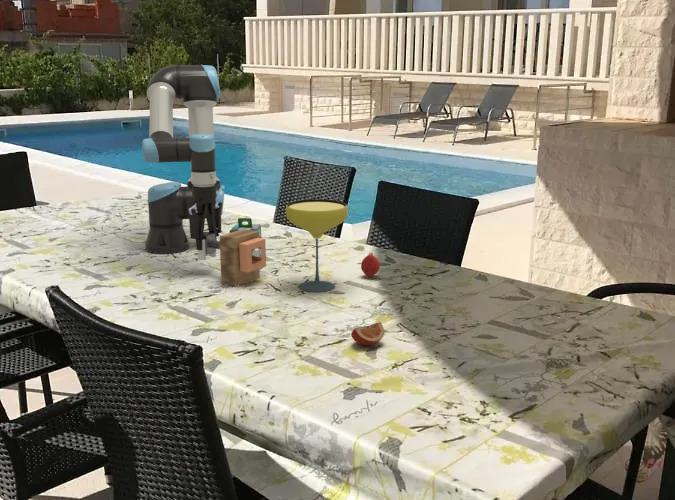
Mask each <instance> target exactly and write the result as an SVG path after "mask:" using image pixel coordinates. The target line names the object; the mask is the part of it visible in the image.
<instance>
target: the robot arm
mask: <svg viewBox="0 0 675 500" xmlns="http://www.w3.org/2000/svg"><path fill="white" fill-rule="evenodd" d="M220 88H221V87H220V82H219V77H218V71H217V70H216V68H215V67H214V66H213V65H208V64H207V65H206V64H205V65H203V64H188V65H187V64H182V65H181V64H180V65H176V64H171V65H167V66H164V67H162V68H160V69H159V70H157V72H155V73H154V74H153V75H152V77H151V79H150V80H149V81H148V84H147V87H146V97H147V99H148V101H149V125H148V126H149V131H148V132H149V133H148V134H149V137H148V138H144V139H143V140H142V141H141V144H142V145H141V146H142V147H141V148H142V149H141V150H142V159H143V161H144V162H146V163H155V164H158V163H186V162H187V163H189V162H190V178H189V179H187V181H186V185H187V186H182V184H181V182H178V181H173V182H172V181H171V182H165V183H163V182H162V183H159V184H156V185H153V186H150V187H149V188H148V189H147V200H146V201H147V206H148V208H147V209H148V225H149V226H148V227H149V228H148V229H149V230H148V234H147V236H146V241H145V251H146V250H148V251H151V252H156V253H155V254H160V253H166V254H175V253H174V252H177V253H180V252H179V251H181V252H184V251H183V250H185V251H187V250H188V249H189V248H190V244H189V243H190V242H189V238H188V236H187V234H186V231H185V228H184V223H183V222H184V220H188V221H189V222H188V223H189V235H190V236H189V237H190V239H193V240H195V248H196V250H197V259H198V260H200V261H206V260H207V257H211V258H216V257H217V251H216V252H214V253H210V254H206V252H205V240H203V233H204V232H205V221H206V223H207V229H208V232H211V233H215V239H216V241H218V240H217V238H218V237H220V234H222V215H223V210H224V200H225V187H226V186H225V185H223V184H221V180H220V179H219V178H218V176H217V173H216V171H217V169H216V142H215V141H216V140H215V135H214V132H215V131H214V110H213V109H214V107H216V105H217V104H218V103H217V100H219V99H221V90H220ZM175 100H183V102H182V103H183V105H184V106H185V107H186V108H187V110H188V134H189V135H188V136H189V137H174V111H173V110H174V109H173V108H174V107H173V105H174V104H173V103H174V101H175ZM186 249H187V250H186ZM148 251H147V252H148ZM151 252H150V253H151ZM206 255H208V256H206Z"/></svg>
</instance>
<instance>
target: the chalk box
mask: <svg viewBox="0 0 675 500" xmlns="http://www.w3.org/2000/svg"><path fill="white" fill-rule="evenodd" d="M243 222H247V223H246V224H245V223H243ZM242 229H247V230H253V231H259V238H262V225H261V224H259V223H258V224H256V223H254V224H253V220H252V218H251V217H250V218H249V217H239V218H237V224H235V225H233V226H232V228H231V229H230V230H229V233H231V232H235V231H239V230H242ZM262 239H263V238H262Z"/></svg>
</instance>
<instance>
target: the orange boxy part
mask: <svg viewBox="0 0 675 500" xmlns="http://www.w3.org/2000/svg"><path fill="white" fill-rule="evenodd" d="M266 246H267V245H266V238H255V239H252V240H249V241H246V242H243V243H239V251H240V271H243V272H247V273H248V272H251V271H254V270H257V269H259V268H260V269H262V268H264V267H267V253H266V252H267V250H266ZM256 248H258V249H262V250H263V255H262V257H256V256H254V260H252V250H253V249H256Z"/></svg>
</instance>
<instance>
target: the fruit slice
mask: <svg viewBox="0 0 675 500" xmlns="http://www.w3.org/2000/svg"><path fill="white" fill-rule="evenodd" d="M350 335H351V338H352V340H353V341H354V342H355V343H356V344H358V345H361V346H371V345H372V346H373V345H374V344H377V343H379V342H380V341H381V340H382V339H383V337H384V335H385V328H384V326H383V324H382V322H381V321H379V322H375V323H372V324H370V325H363V326H360V327H355V328H354V329H353V330H352V331H351V334H350Z"/></svg>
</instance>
